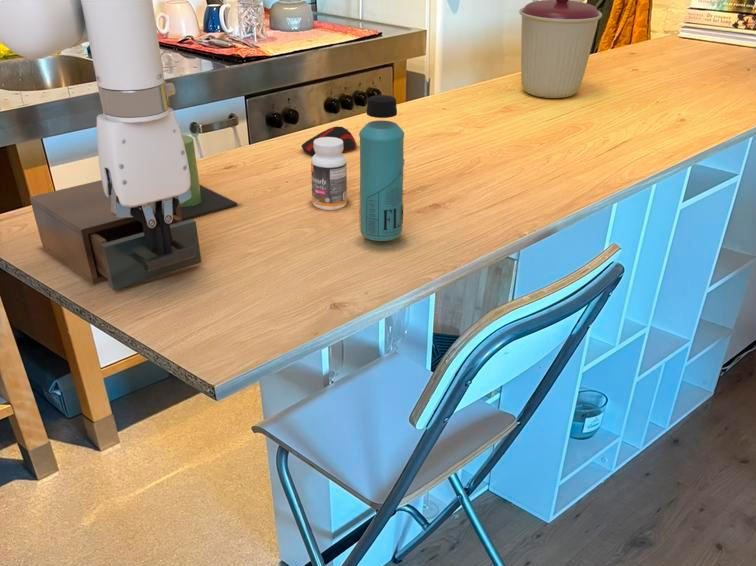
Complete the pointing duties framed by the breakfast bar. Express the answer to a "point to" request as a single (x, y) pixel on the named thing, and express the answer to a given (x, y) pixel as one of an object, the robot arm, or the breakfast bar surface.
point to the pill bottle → (329, 174)
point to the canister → (556, 46)
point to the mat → (206, 205)
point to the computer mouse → (335, 132)
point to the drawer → (142, 252)
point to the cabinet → (76, 224)
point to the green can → (192, 173)
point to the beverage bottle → (381, 172)
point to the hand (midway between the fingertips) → (160, 252)
